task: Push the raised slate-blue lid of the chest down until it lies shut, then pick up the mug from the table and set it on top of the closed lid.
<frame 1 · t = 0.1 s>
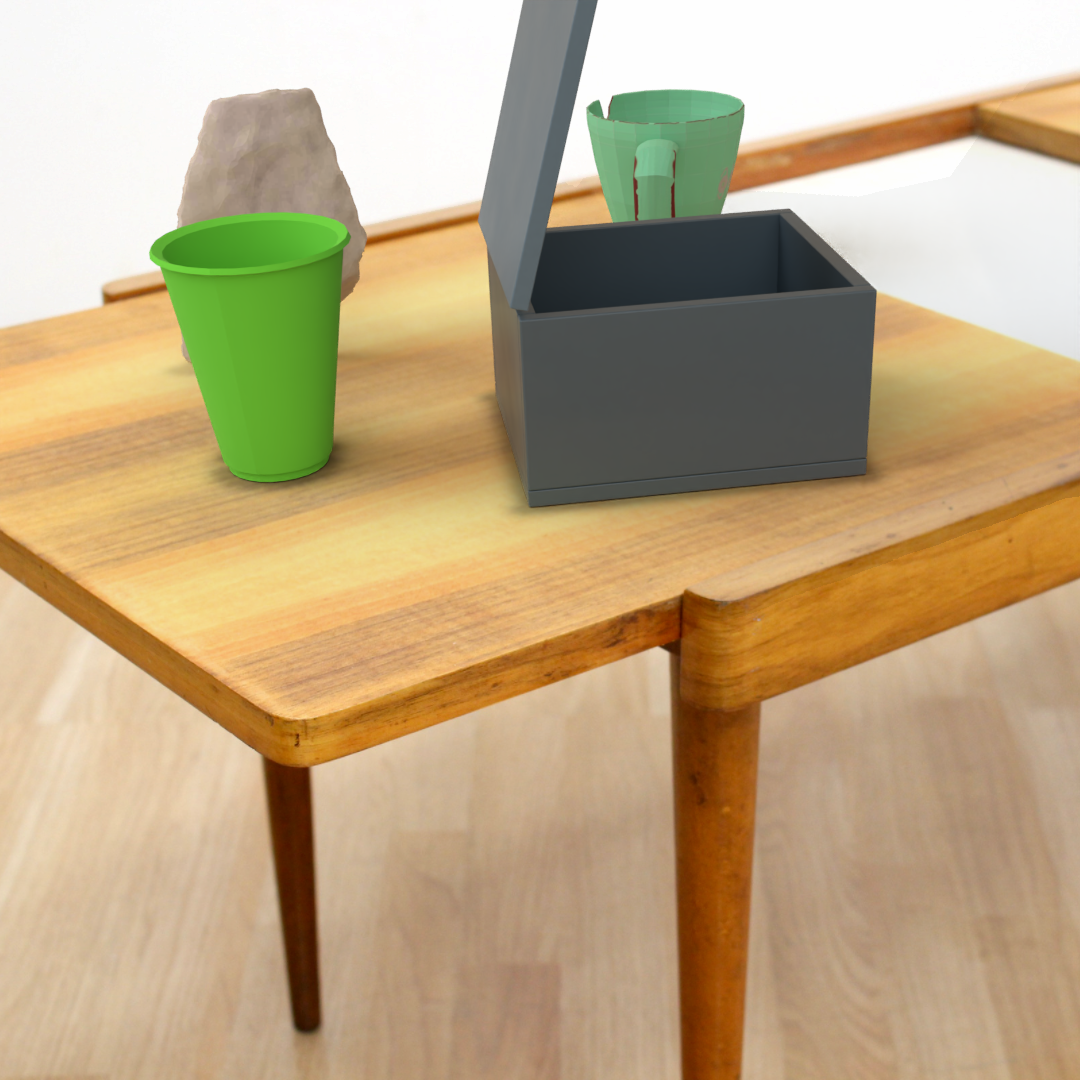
lid: (539, 83, 68), point 17 cm above the table, hinge at 75.0°
mug: (663, 276, 99), on the table
stone: (283, 363, 88), on the table
chest: (668, 432, 76), on the table
cup: (279, 464, 75), on the table
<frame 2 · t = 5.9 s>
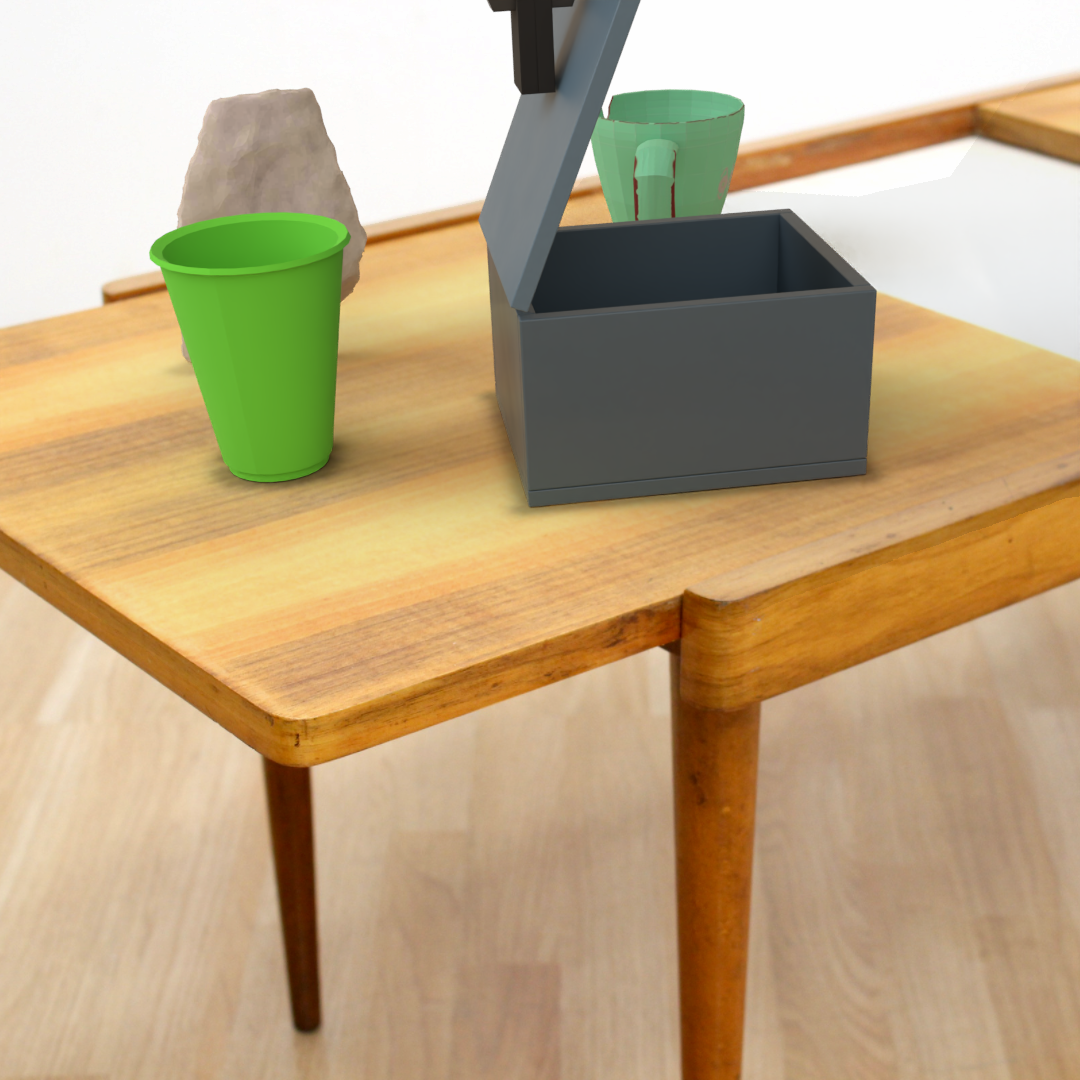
hand: (534, 87, 68), 17 cm above the table, tool pointing down, fingers closed
lid: (561, 89, 68), point 17 cm above the table, hinge at 67.8°, touching gripper
everything else where it was.
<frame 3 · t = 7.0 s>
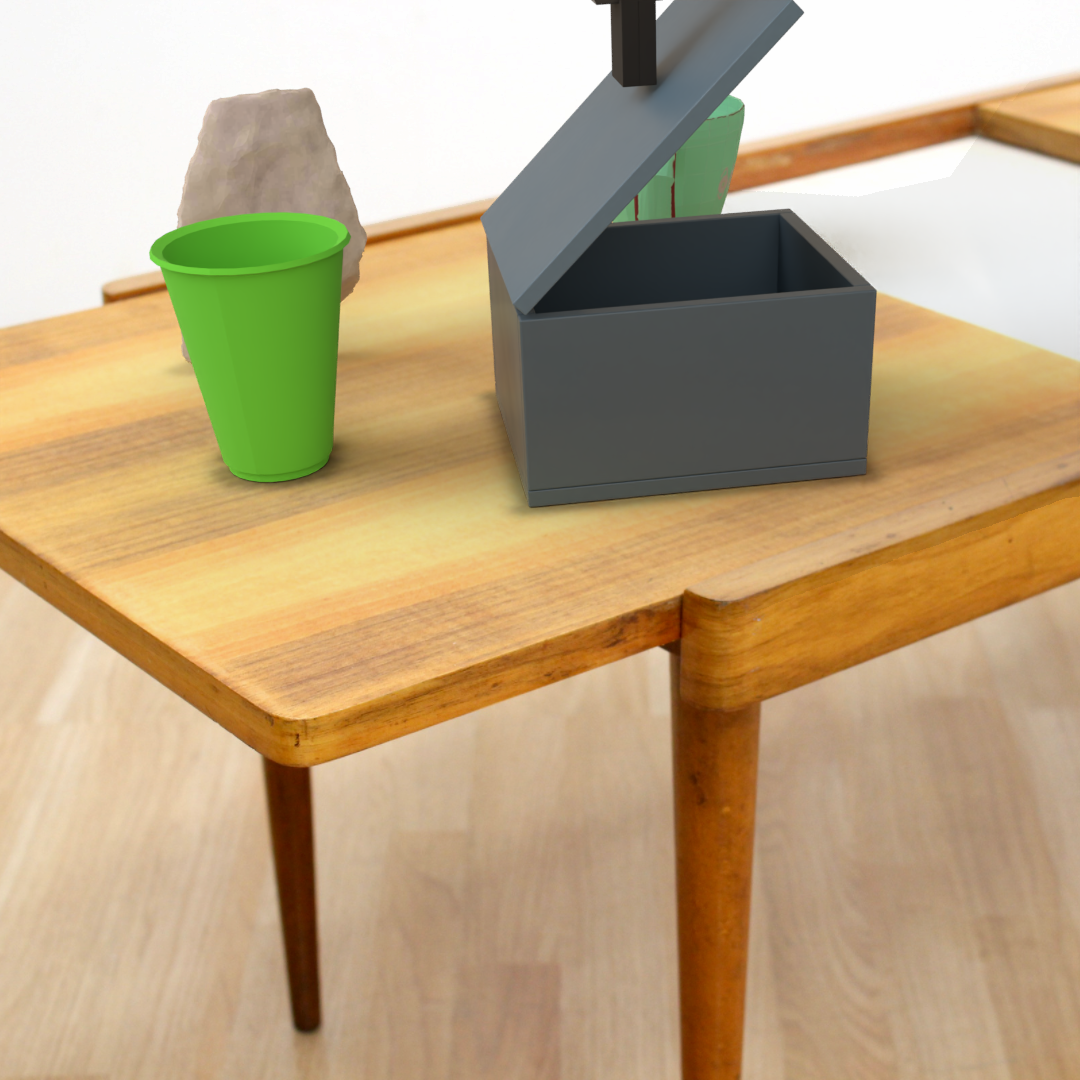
hand: (633, 79, 68), 17 cm above the table, tool pointing down, fingers closed
lid: (623, 127, 69), point 15 cm above the table, hinge at 44.6°, touching gripper
everything else where it was.
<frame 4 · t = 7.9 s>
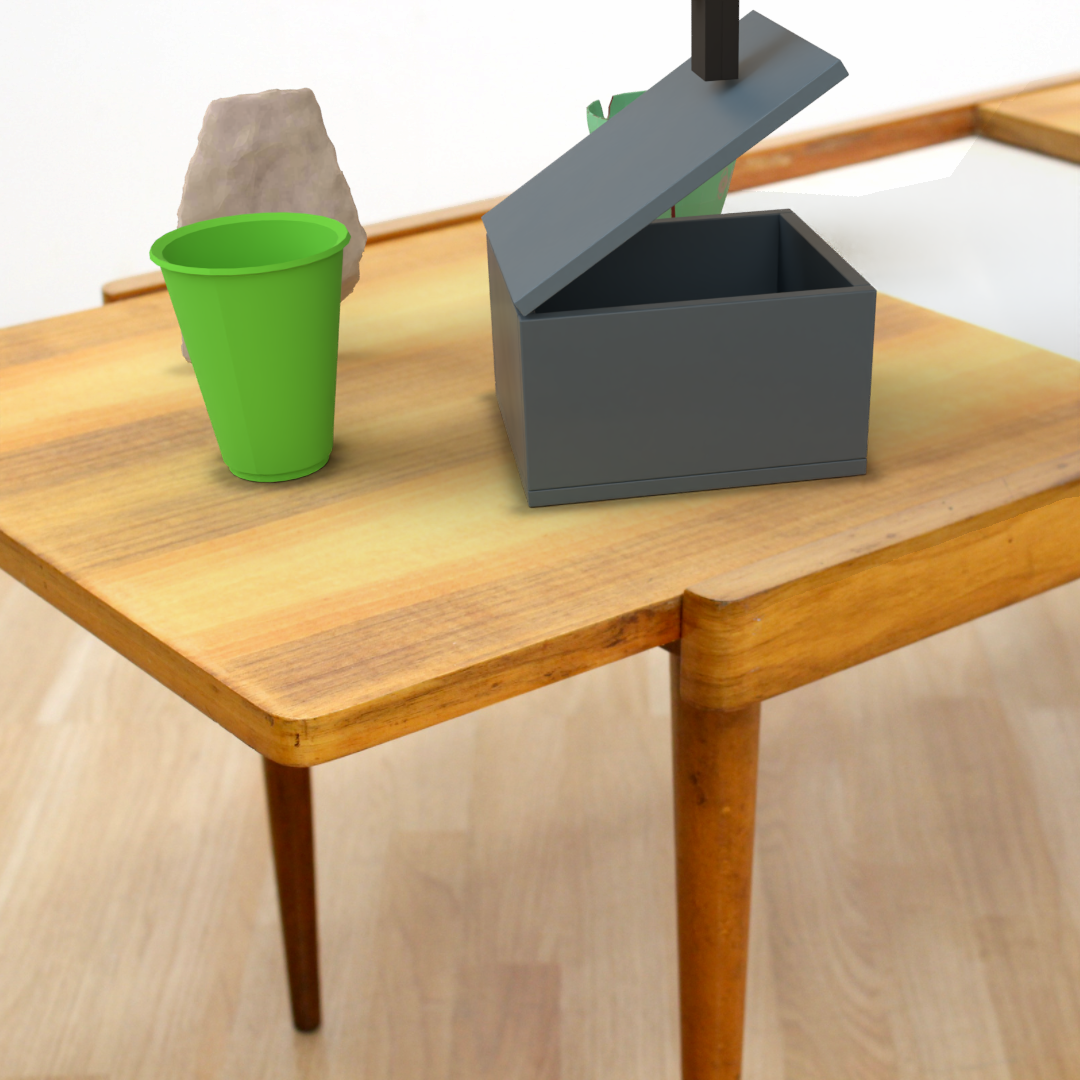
hand: (714, 74, 69), 17 cm above the table, tool pointing down, fingers closed
lid: (646, 153, 70), point 14 cm above the table, hinge at 33.4°, touching gripper
everything else where it was.
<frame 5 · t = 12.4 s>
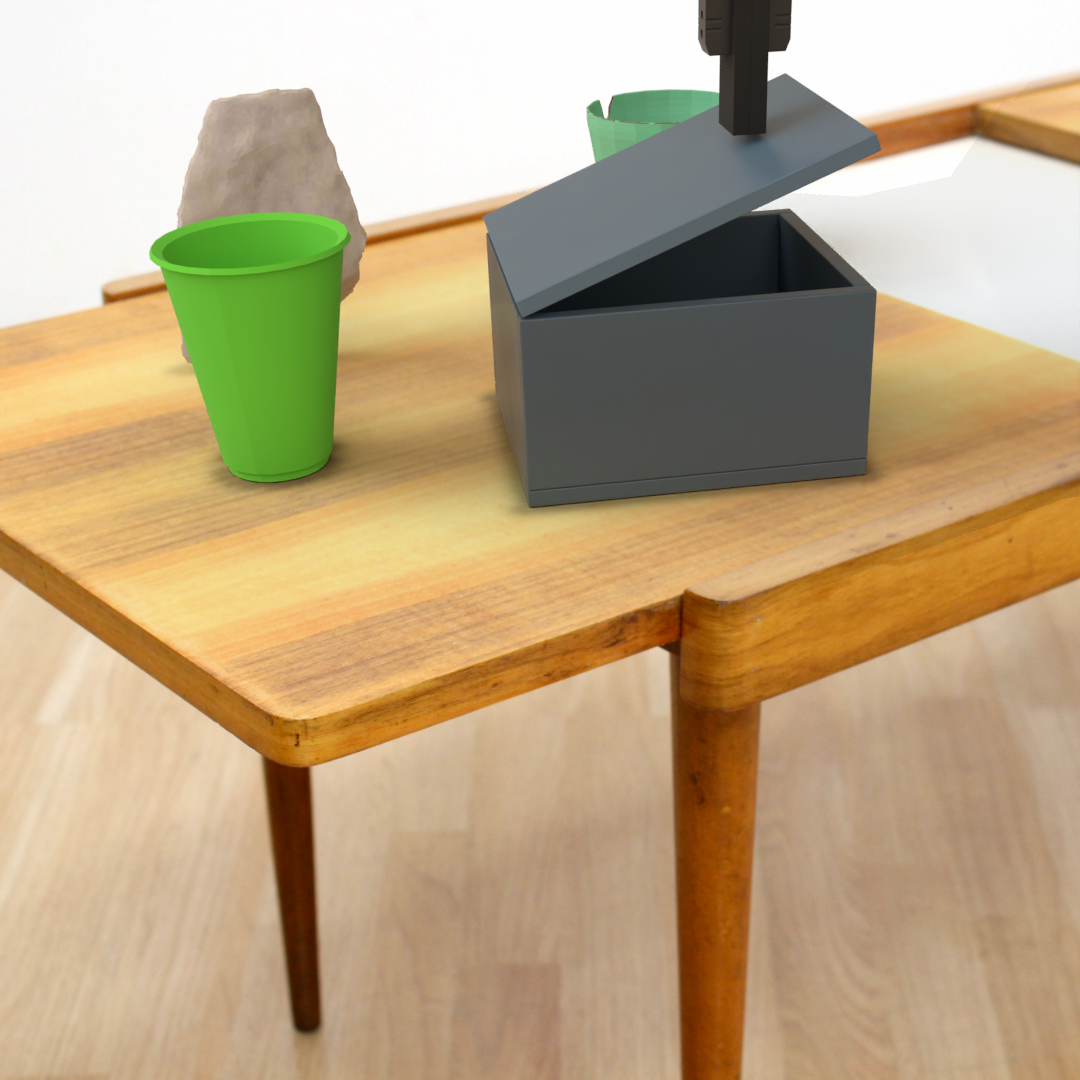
hand: (742, 127, 70), 15 cm above the table, tool pointing down, fingers closed
lid: (663, 186, 71), point 12 cm above the table, hinge at 21.2°, touching gripper
everything else where it was.
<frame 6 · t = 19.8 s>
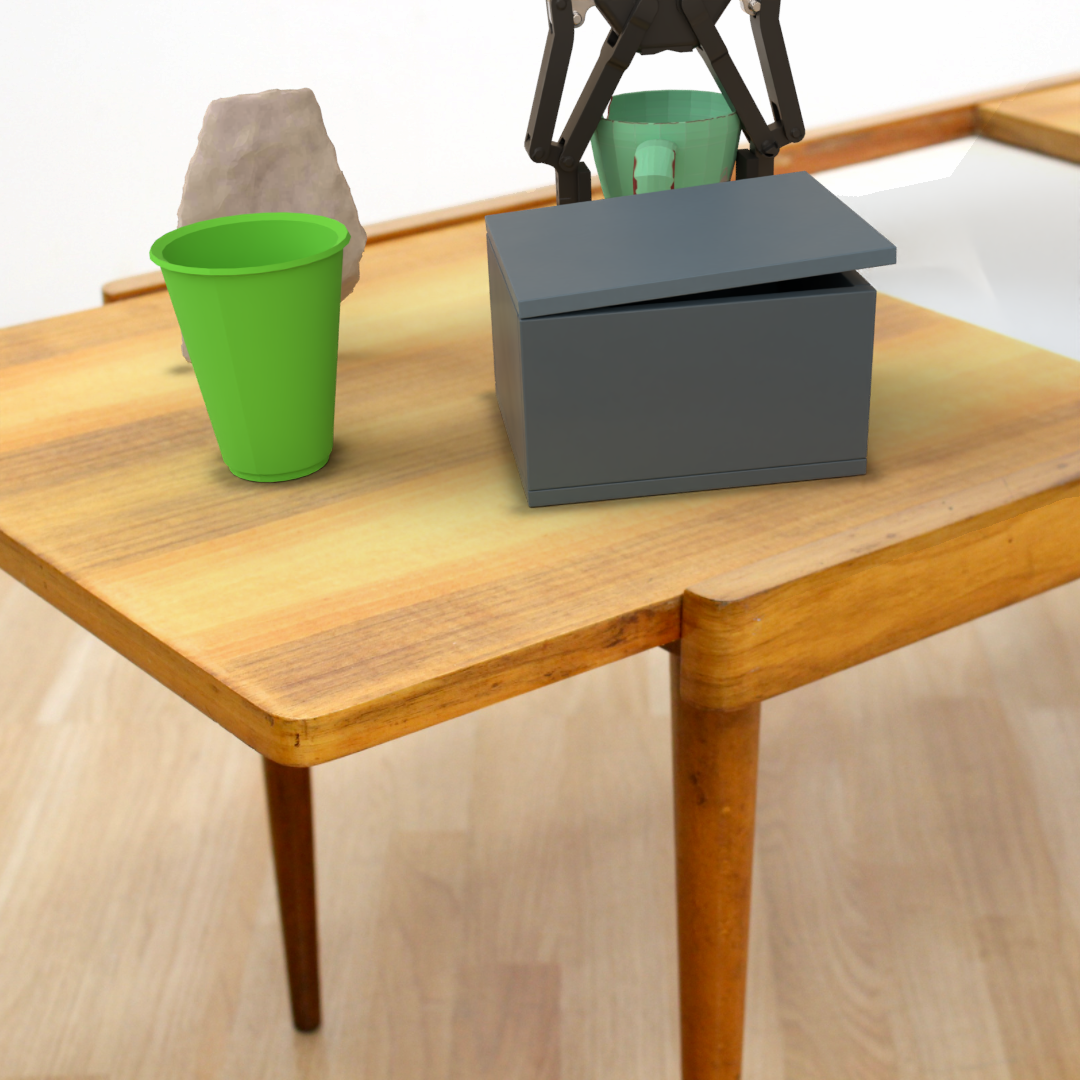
hand: (665, 262, 98), 1 cm above the table, tool pointing down, fingers open, 10 cm apart
lid: (675, 238, 72), point 10 cm above the table, hinge at 3.6°
mug: (663, 276, 99), on the table, touching gripper
everything else where it was.
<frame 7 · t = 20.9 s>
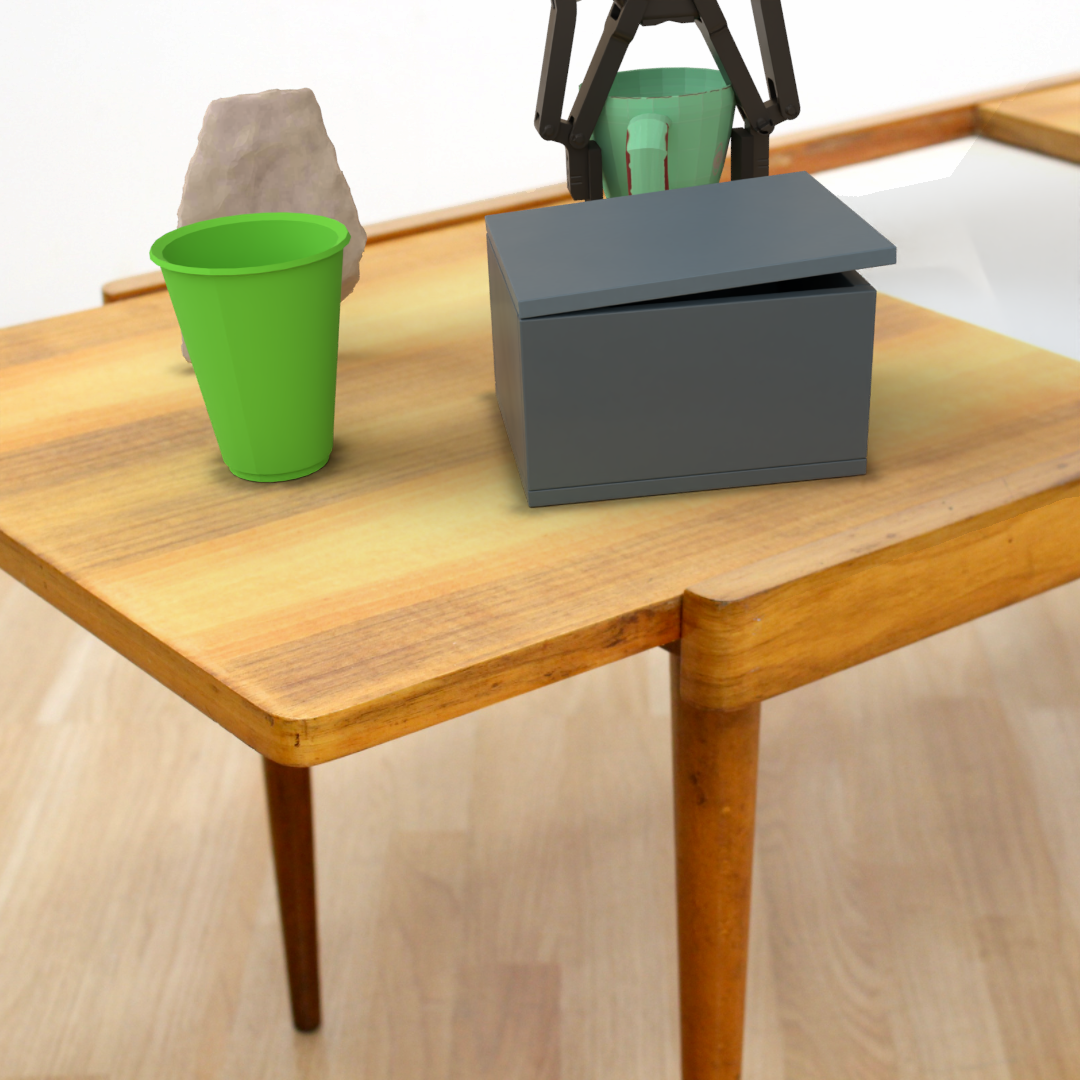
hand: (669, 242, 98), 2 cm above the table, tool pointing down, fingers closed on mug, 9 cm apart
mug: (659, 254, 98), point 1 cm above the table, touching gripper
everything else where it was.
when the fingers open (10 cm above the table, at t = 27.6 s): mug stays where it is, resting on lid.
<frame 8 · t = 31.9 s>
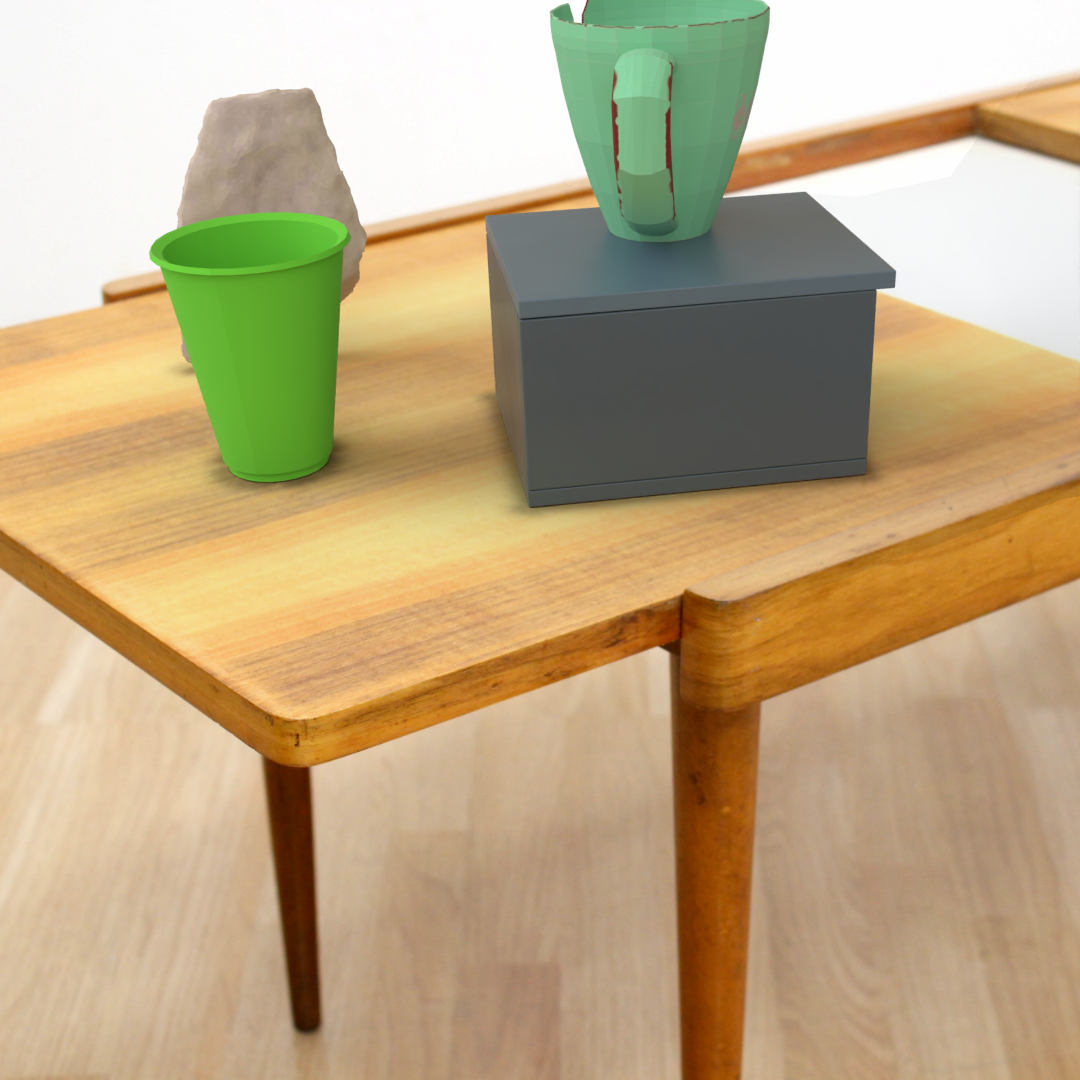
lid: (676, 249, 72), point 9 cm above the table, hinge at -0.2°, touching mug
mug: (656, 246, 72), point 9 cm above the table, touching lid
everything else where it was.
at the end: lid at +0° (first picture: +75°); mug inside the target area on the chest (0.5 cm from its centre), point 9.4 cm above the chest's base; mug tilted 0° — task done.
